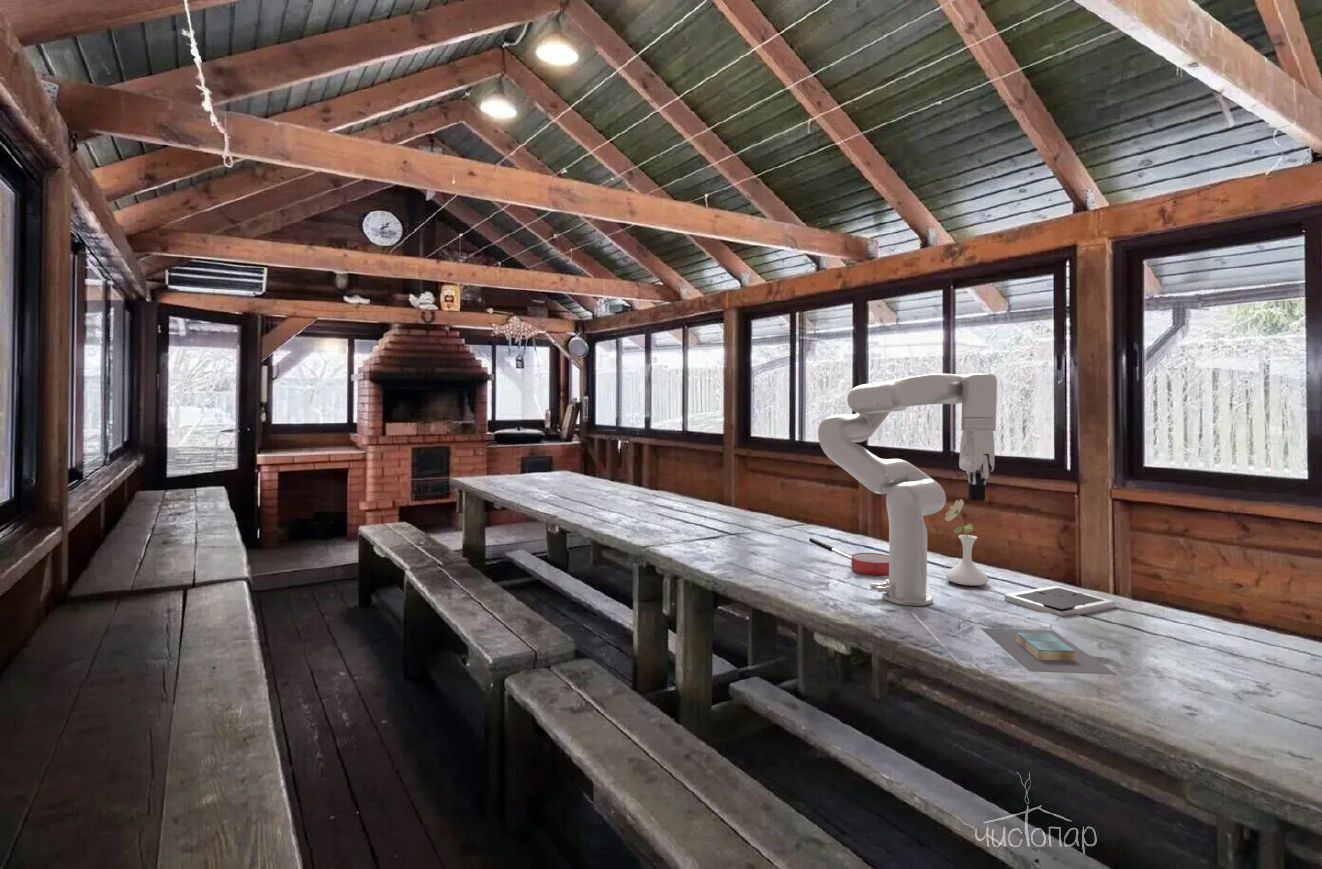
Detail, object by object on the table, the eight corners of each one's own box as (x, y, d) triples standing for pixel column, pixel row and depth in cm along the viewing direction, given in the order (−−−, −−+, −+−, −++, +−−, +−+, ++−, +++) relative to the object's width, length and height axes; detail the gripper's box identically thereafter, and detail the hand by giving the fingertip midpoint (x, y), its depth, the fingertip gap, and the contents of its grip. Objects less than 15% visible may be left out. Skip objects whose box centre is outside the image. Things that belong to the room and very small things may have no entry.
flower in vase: (967, 576, 196) (969, 494, 195) (997, 586, 185) (999, 500, 184) (932, 580, 192) (933, 496, 191) (961, 591, 181) (963, 502, 180)
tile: (1016, 641, 141) (1038, 659, 131) (1016, 632, 141) (1039, 649, 131) (1049, 642, 141) (1075, 660, 131) (1050, 633, 141) (1075, 651, 131)
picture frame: (1061, 620, 158) (1114, 609, 167) (1061, 608, 158) (1115, 598, 166) (1004, 602, 173) (1056, 592, 181) (1004, 591, 173) (1056, 582, 181)
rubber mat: (1029, 673, 126) (1029, 670, 126) (980, 630, 150) (980, 627, 150) (1116, 676, 124) (1116, 673, 124) (1052, 632, 148) (1052, 630, 148)
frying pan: (794, 559, 217) (794, 541, 217) (817, 553, 226) (817, 535, 226) (881, 579, 193) (881, 558, 193) (902, 571, 202) (903, 551, 202)
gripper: (951, 423, 164) (949, 495, 165) (974, 426, 149) (972, 505, 150) (982, 423, 163) (980, 496, 164) (1008, 426, 148) (1006, 505, 149)
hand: (976, 500), depth 157 cm, fingers closed
